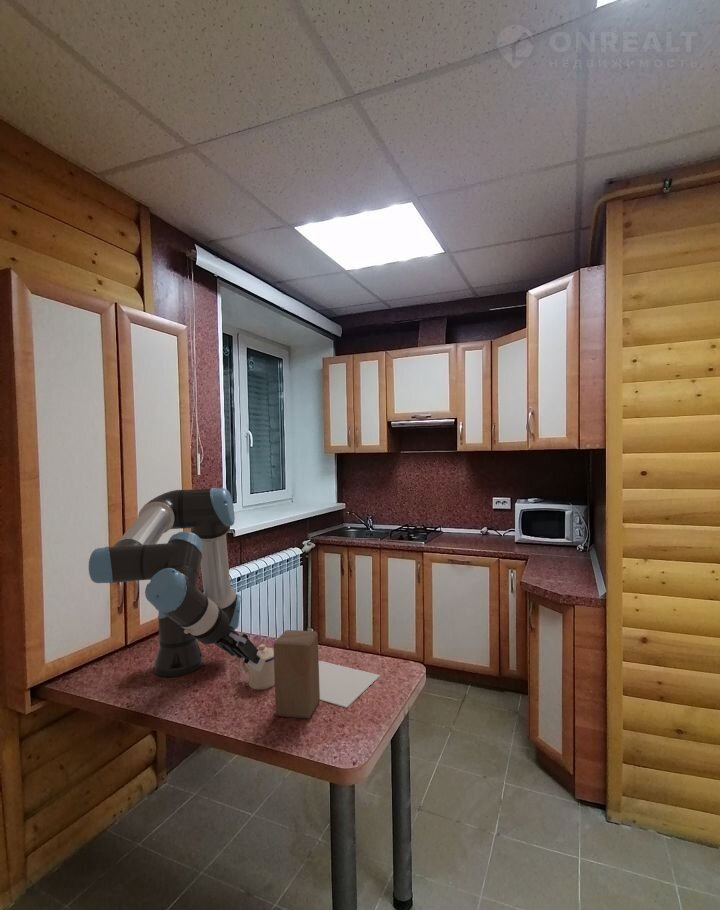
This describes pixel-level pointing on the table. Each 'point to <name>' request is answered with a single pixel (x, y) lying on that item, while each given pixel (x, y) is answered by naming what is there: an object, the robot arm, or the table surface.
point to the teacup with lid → (267, 673)
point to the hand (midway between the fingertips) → (260, 665)
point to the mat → (342, 683)
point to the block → (296, 673)
